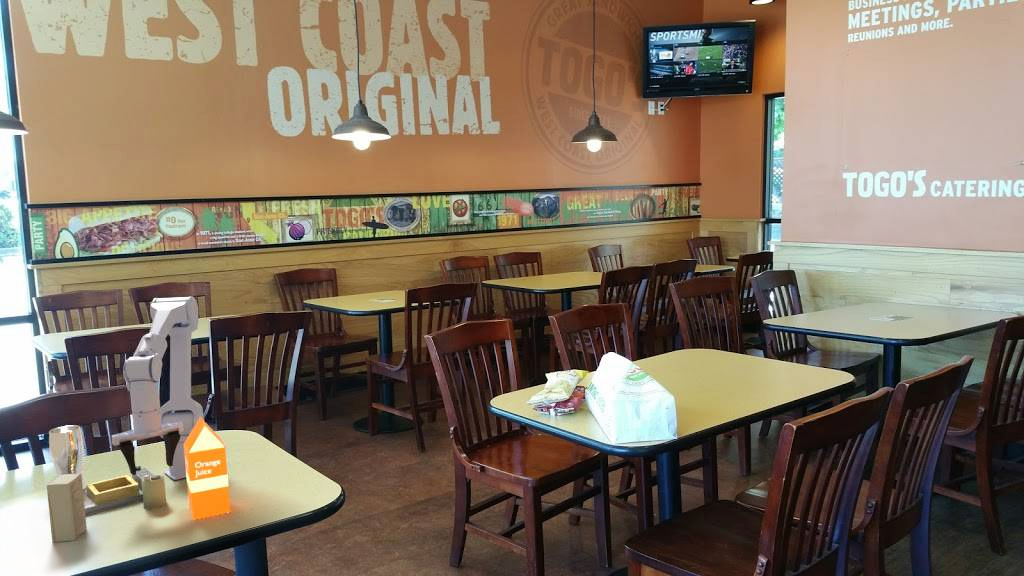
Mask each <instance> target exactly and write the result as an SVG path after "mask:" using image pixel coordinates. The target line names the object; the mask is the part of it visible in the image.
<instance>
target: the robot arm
mask: <svg viewBox="0 0 1024 576" xmlns="http://www.w3.org/2000/svg"><path fill="white" fill-rule="evenodd" d="M149 308H150V309H149V311H150V312H149V314H150V318H151V320H152V323H151V325H150V329H149V333H146V334H144V335H143V336H142V337H141V339H140V340H139V344H138V346H137V348H136V349H135V351H134V354H133V356H130V357H129V358H127V359H126V360H125V361H124V364H123V367H122V368H123V373H122V375H123V379H124V381H125V384H126V389H127V391H128V392H129V395H130V403H131V404H130V406H131V413H132V414H131V416H132V417H131V418H132V425H133V427H132V428H133V429H131V430H126V431H124V432H121V433H116V434H112V435H111V444H112V445H113V446H114V447H115V446H117V447H118V448H119V450H120V452H121V453H122V455H123V457H124V459H125V460H126V463H127V465H128V469H129V473H130V474H131V476H132V475H135V474H136V467H137V466H136V461H135V455H136V454H135V451H136V450H135V446H134V445H133V442H134V441H136V442H137V441H141V440H145V439H149V438H156V437H160V438H162V439H163V442H164V447H165V462H166V465H167V466H168V467H169V468H168V469H167V470H164V474H166V476H168V477H169V478H170V479H172V480H173V481H176V480H177V481H178V480H182V479H185V478H186V479H187V477H186V464H185V453H184V443H185V441H186V440H187V438H188V436H189V435H190V433H191V431H192V430H193V428H194V426H195V425H196V423H197V421H198V420H199V418H200V417H201V418H202V419H203V420H204V421H205V415H204V410H203V406H202V404H201V403H199V402H198V401H196V400H194V399H193V398H192V360H191V359H192V334H193V332H195V331H197V330H198V325H199V306H198V303H197V300H196V298H195V297H194V296H181V297H160V298H159V297H154V298H153V300H152V301H151V302H150V306H149ZM167 336H169V337H170V341H169V343H170V345H169V346H170V348H169V349H170V350H169V351H170V352H169V355H170V356H169V359H170V361H169V363H170V364H169V365H170V367H169V400H168V401H167V402H166V403H165V404H163V405H162V406H161V401H160V392H159V391H160V390H159V380H160V379H161V376H162V368H163V361H162V359H163V357H164V355H165V353H166V350H167V348H168V342H167V340H166V338H167ZM176 411H178V412H176ZM179 411H181V412H179ZM182 411H183V412H182Z"/></svg>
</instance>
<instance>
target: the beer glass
mask: <svg viewBox="0 0 1024 576" xmlns="http://www.w3.org/2000/svg"><path fill="white" fill-rule="evenodd" d="M48 435H49V436H48V437H49V438H48V442H49V453H50V458H51V461H52V464H53V467H54V470H55V474H56V477H57V476H59V475H60V474H77V473H81V475H82V486H83V491H84V490H86V483H85V480H84V479H85V478H84V475H83V465H84V464H83V463H84V454H85V453H84V451H85V450H84V449H85V448H84V441H83V439H84V438H83V433H82V429H81V426H80V425H64V426H63V425H62V426H58V427H54V428H51V429H50V430H49V431H48Z"/></svg>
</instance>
